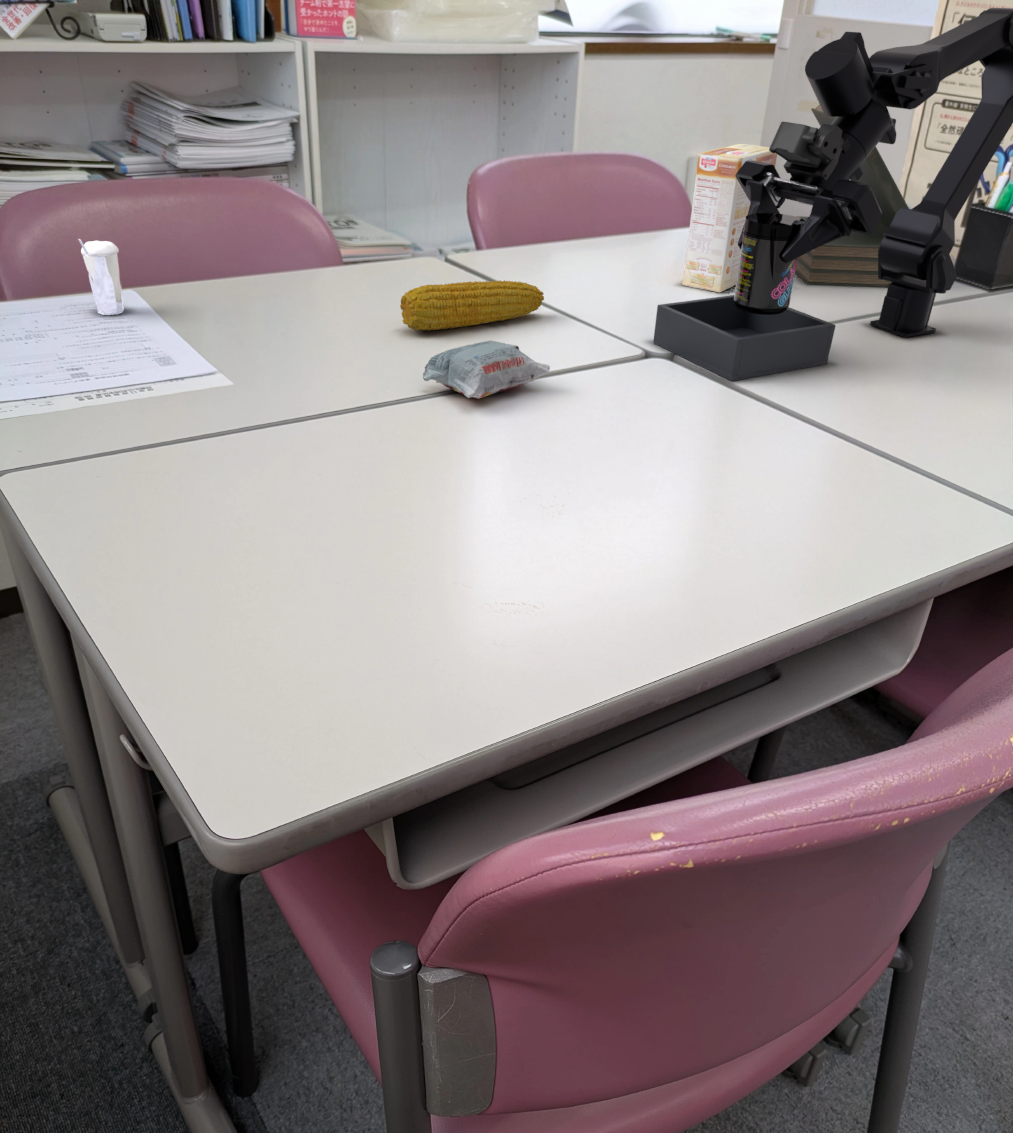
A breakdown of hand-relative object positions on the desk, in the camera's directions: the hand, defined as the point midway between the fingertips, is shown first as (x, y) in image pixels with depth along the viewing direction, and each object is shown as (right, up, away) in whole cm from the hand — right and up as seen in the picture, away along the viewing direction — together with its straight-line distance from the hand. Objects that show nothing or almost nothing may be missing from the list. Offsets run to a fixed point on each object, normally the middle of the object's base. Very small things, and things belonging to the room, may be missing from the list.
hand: (761, 253), depth 111 cm
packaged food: (-32, -17, -4) cm, 37 cm away
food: (-35, -4, +17) cm, 39 cm away
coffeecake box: (+5, +9, +42) cm, 43 cm away
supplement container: (+1, -5, +4) cm, 7 cm away
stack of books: (+28, +14, +51) cm, 60 cm away
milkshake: (-83, -3, +16) cm, 85 cm away
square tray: (0, -9, +10) cm, 14 cm away
